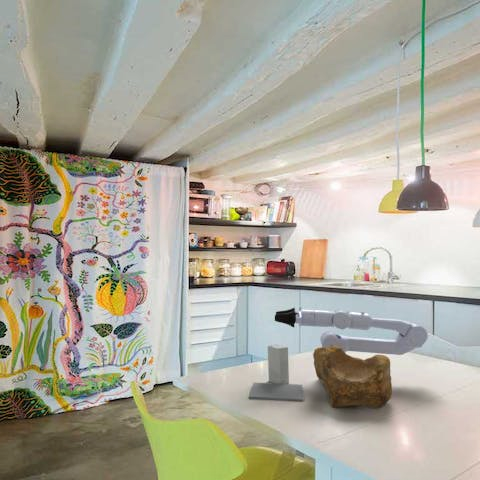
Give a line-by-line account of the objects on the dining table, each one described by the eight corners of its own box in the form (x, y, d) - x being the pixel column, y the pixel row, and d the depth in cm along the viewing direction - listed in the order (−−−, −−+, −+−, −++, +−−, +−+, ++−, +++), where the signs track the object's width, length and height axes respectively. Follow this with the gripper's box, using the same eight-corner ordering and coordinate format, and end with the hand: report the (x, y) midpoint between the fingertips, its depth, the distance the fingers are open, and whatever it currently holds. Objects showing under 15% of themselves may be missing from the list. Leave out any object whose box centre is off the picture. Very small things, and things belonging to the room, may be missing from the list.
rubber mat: (302, 386, 134) (302, 384, 134) (303, 401, 120) (303, 399, 120) (253, 384, 136) (253, 382, 136) (249, 398, 122) (249, 396, 122)
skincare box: (289, 383, 137) (289, 346, 138) (280, 385, 134) (280, 348, 135) (276, 378, 142) (276, 343, 143) (267, 381, 139) (267, 345, 140)
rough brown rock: (300, 408, 117) (300, 356, 116) (316, 386, 132) (316, 341, 131) (386, 426, 106) (387, 370, 106) (393, 401, 121) (393, 351, 121)
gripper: (313, 304, 152) (276, 302, 154) (314, 309, 137) (274, 307, 139) (312, 323, 152) (276, 321, 153) (314, 330, 137) (274, 328, 139)
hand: (275, 316), depth 146 cm, fingers open, 7 cm apart
